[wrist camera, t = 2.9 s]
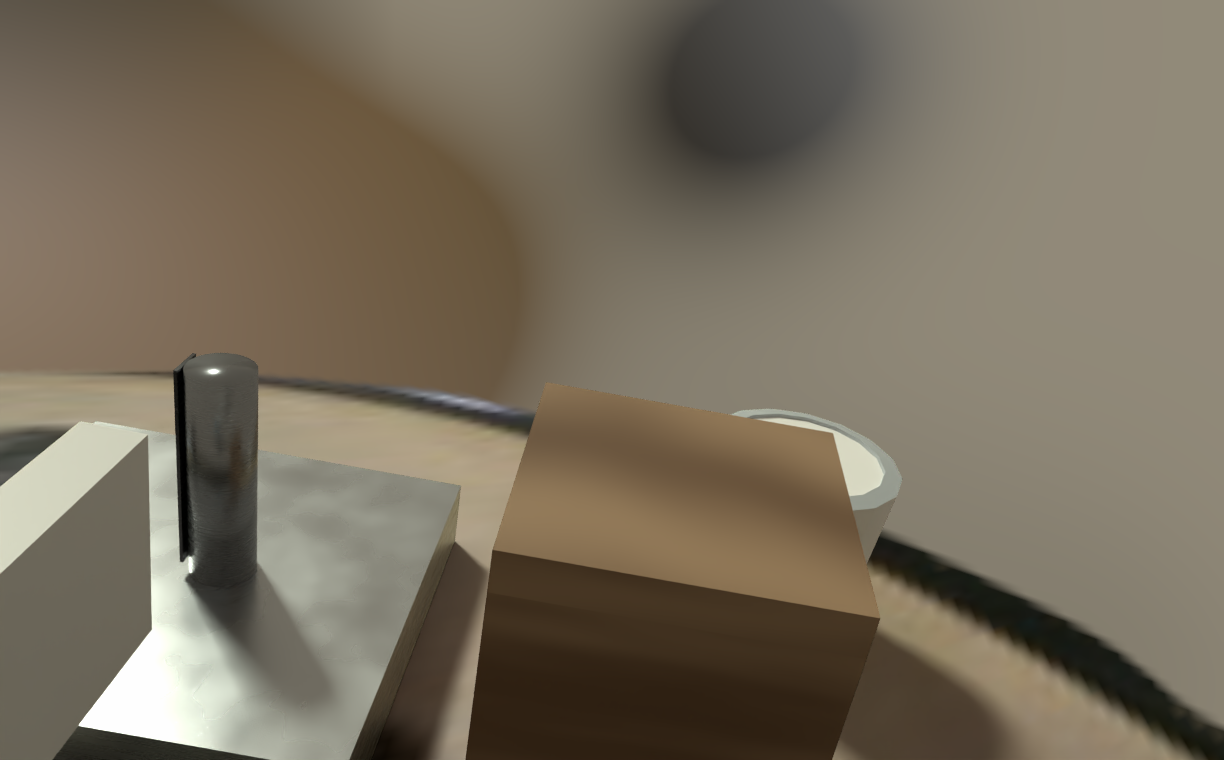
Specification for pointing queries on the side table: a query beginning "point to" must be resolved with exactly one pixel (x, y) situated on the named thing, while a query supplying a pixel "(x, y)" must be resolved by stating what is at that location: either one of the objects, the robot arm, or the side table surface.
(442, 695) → the side table surface
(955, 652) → the side table surface
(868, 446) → the pale grey tapered cylinder
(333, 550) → the joystick
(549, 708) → the wooden brick
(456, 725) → the side table surface
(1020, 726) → the side table surface
